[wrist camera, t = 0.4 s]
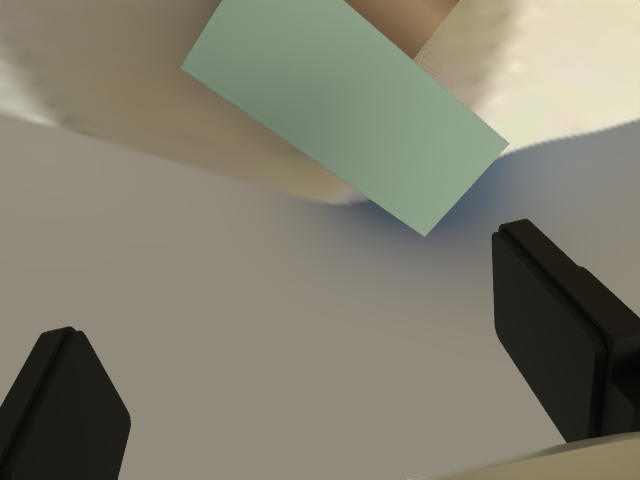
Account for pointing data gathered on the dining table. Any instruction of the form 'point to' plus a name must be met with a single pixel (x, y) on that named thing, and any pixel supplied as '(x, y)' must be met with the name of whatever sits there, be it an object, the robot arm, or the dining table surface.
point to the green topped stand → (346, 102)
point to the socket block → (405, 19)
